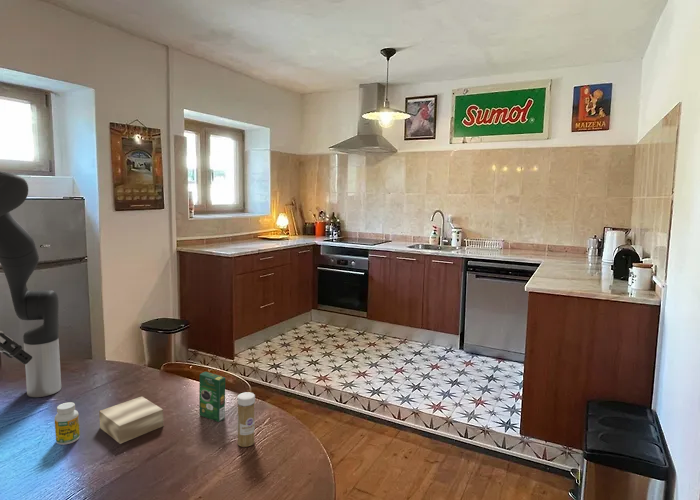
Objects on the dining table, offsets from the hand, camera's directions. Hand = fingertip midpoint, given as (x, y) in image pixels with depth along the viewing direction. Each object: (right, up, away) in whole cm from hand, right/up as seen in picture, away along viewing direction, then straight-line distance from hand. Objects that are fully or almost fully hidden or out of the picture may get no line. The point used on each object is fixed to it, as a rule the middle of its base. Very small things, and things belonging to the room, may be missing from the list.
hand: (21, 357), depth 112 cm
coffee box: (+41, -23, +21) cm, 52 cm away
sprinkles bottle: (+54, -25, +8) cm, 60 cm away
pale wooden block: (+21, -23, +14) cm, 34 cm away
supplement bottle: (+7, -24, +7) cm, 26 cm away
